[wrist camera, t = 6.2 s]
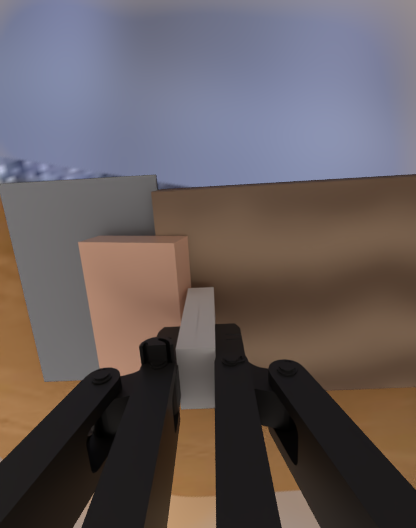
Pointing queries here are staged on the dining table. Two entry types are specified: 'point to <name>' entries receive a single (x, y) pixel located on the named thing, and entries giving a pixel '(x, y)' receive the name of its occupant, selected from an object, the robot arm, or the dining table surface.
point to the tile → (133, 292)
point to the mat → (69, 257)
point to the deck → (308, 271)
